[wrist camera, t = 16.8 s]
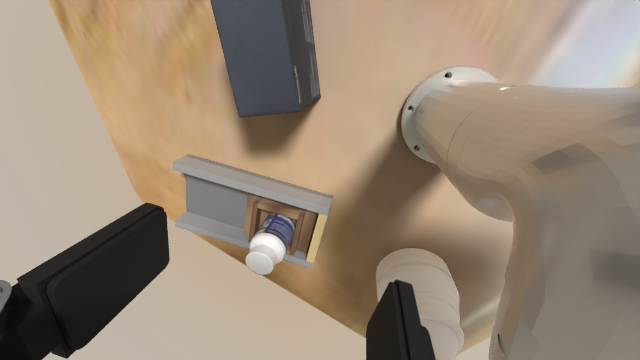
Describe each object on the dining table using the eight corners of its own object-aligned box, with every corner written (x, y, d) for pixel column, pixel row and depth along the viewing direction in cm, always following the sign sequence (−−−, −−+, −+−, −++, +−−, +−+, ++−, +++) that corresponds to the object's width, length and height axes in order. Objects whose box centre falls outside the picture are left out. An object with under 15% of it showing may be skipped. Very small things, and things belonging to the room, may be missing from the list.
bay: (333, 196, 40) (329, 208, 36) (316, 253, 46) (311, 269, 42) (189, 154, 42) (172, 162, 38) (190, 214, 47) (175, 226, 44)
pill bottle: (274, 203, 39) (248, 241, 31) (302, 219, 40) (284, 261, 31) (262, 226, 42) (235, 266, 33) (289, 241, 42) (269, 285, 33)
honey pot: (387, 240, 42) (402, 346, 26) (462, 259, 41) (526, 382, 25) (367, 290, 47) (369, 403, 31) (433, 308, 46) (469, 435, 30)
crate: (319, 205, 40) (315, 217, 37) (308, 247, 44) (303, 261, 41) (252, 185, 41) (242, 195, 37) (247, 228, 45) (237, 241, 41)
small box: (256, -3, 30) (196, -44, 20) (308, -14, 29) (274, -65, 18) (276, 104, 35) (237, 118, 25) (321, 99, 34) (301, 111, 23)
